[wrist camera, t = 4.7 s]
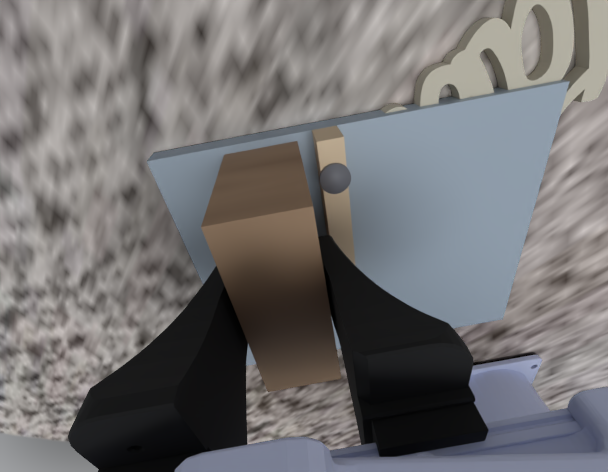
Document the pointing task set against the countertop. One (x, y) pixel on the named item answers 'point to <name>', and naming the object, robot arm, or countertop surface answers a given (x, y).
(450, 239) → the blue flat mat
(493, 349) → the countertop surface
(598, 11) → the decorative sign
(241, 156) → the brown square box
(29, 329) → the countertop surface
